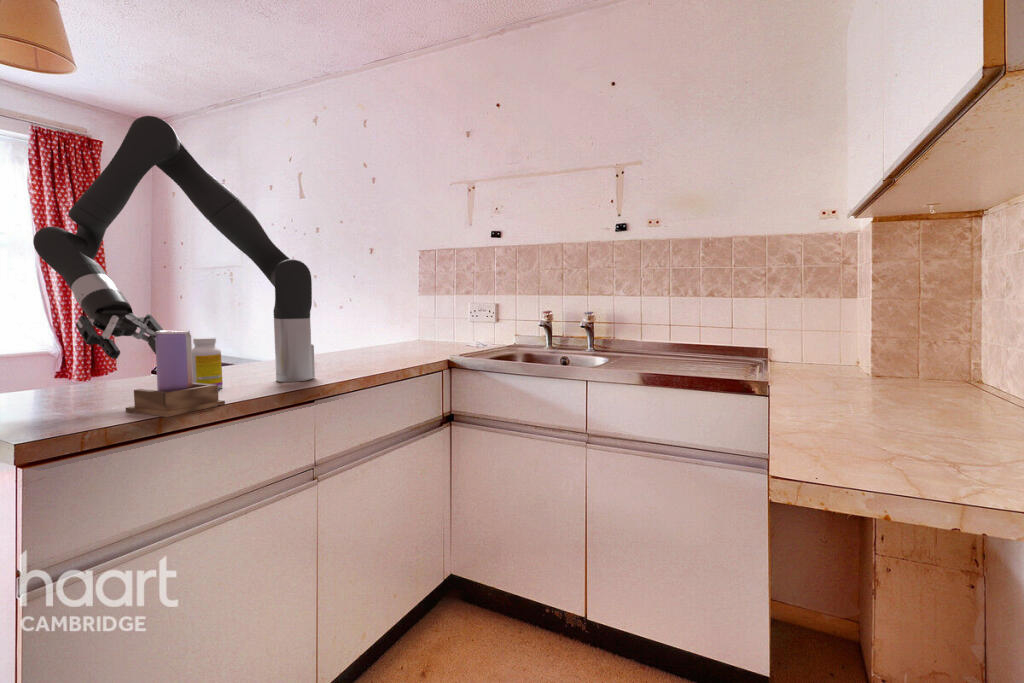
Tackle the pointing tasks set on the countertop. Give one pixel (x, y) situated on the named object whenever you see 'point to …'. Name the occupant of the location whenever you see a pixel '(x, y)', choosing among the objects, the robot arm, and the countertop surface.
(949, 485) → the countertop surface
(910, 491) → the countertop surface
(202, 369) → the supplement bottle
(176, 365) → the lavender tall block
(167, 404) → the cradle
